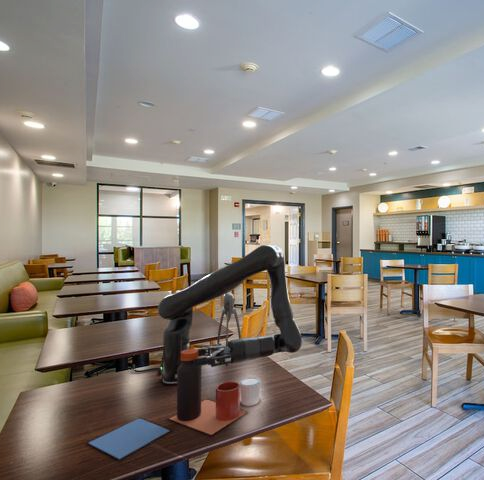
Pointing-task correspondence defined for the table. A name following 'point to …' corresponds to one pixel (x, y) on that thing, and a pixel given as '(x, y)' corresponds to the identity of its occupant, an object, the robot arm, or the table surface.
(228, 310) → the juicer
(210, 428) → the terracotta mat
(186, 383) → the bottle
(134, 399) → the table surface
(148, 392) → the table surface
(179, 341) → the robot arm
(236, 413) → the red cup
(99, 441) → the blue mat
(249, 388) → the grey and white cylinder
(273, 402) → the table surface
